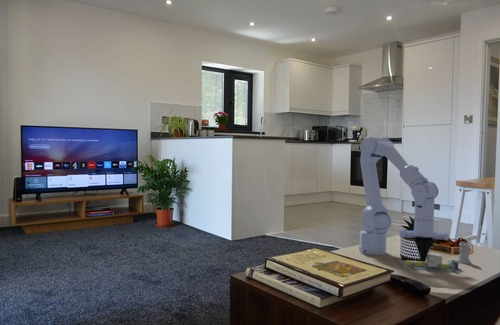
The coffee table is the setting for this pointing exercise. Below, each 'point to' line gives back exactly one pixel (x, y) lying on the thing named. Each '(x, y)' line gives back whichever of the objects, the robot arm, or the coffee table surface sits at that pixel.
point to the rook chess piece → (463, 253)
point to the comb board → (418, 265)
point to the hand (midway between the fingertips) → (422, 260)
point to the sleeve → (434, 259)
